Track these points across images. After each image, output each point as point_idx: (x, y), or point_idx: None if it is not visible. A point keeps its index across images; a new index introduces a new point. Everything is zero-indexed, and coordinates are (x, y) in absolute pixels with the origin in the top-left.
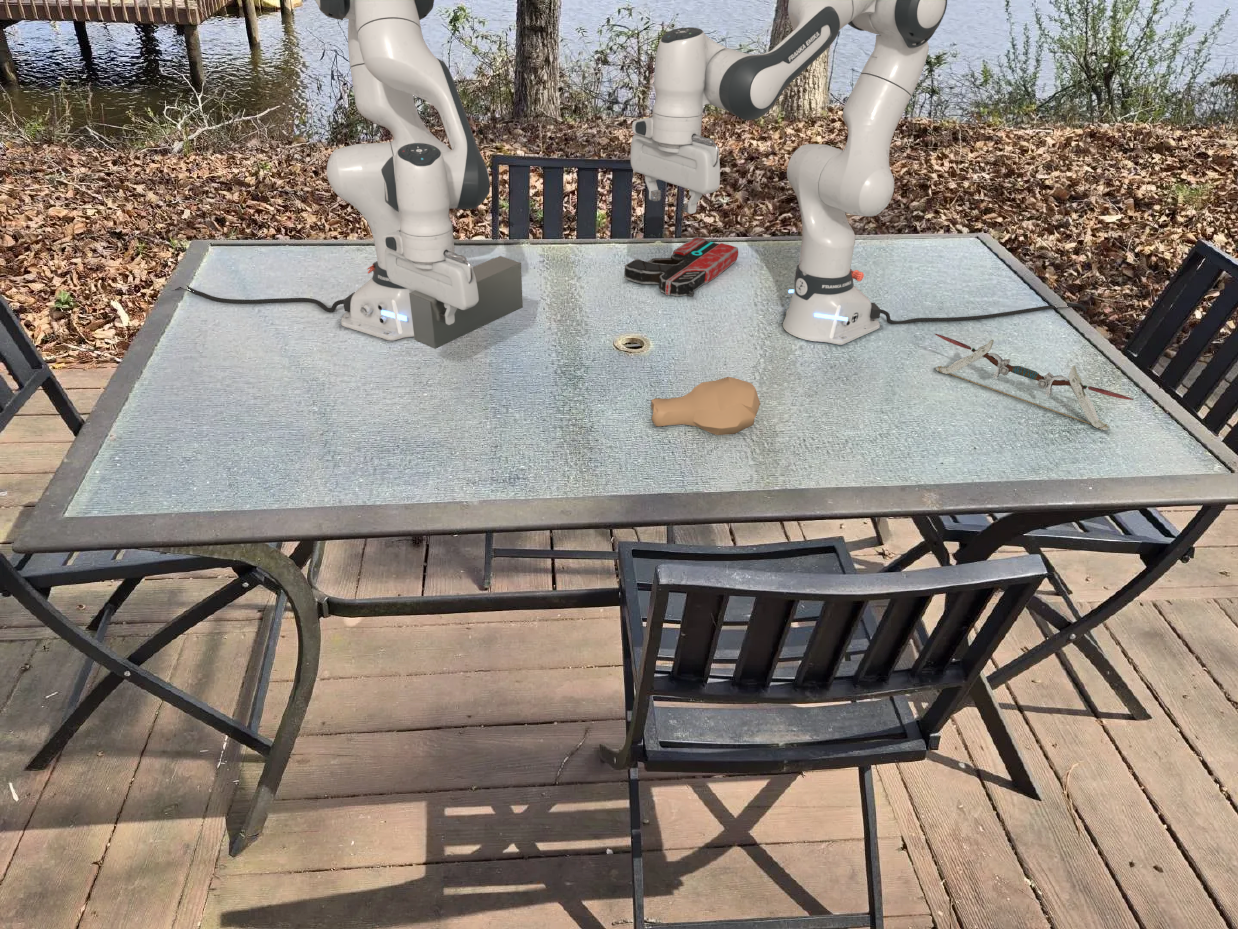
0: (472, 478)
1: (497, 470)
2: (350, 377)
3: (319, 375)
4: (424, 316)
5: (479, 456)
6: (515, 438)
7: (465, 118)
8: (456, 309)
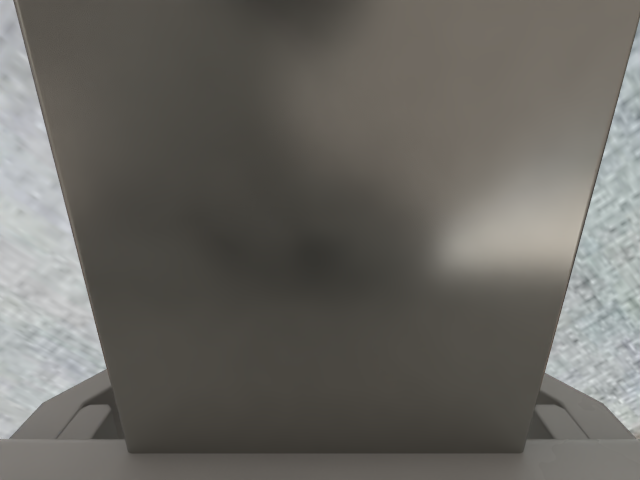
0: (602, 384)
1: (635, 341)
2: (68, 278)
3: (13, 315)
4: None
5: (572, 328)
6: (610, 231)
7: None
8: (554, 381)
